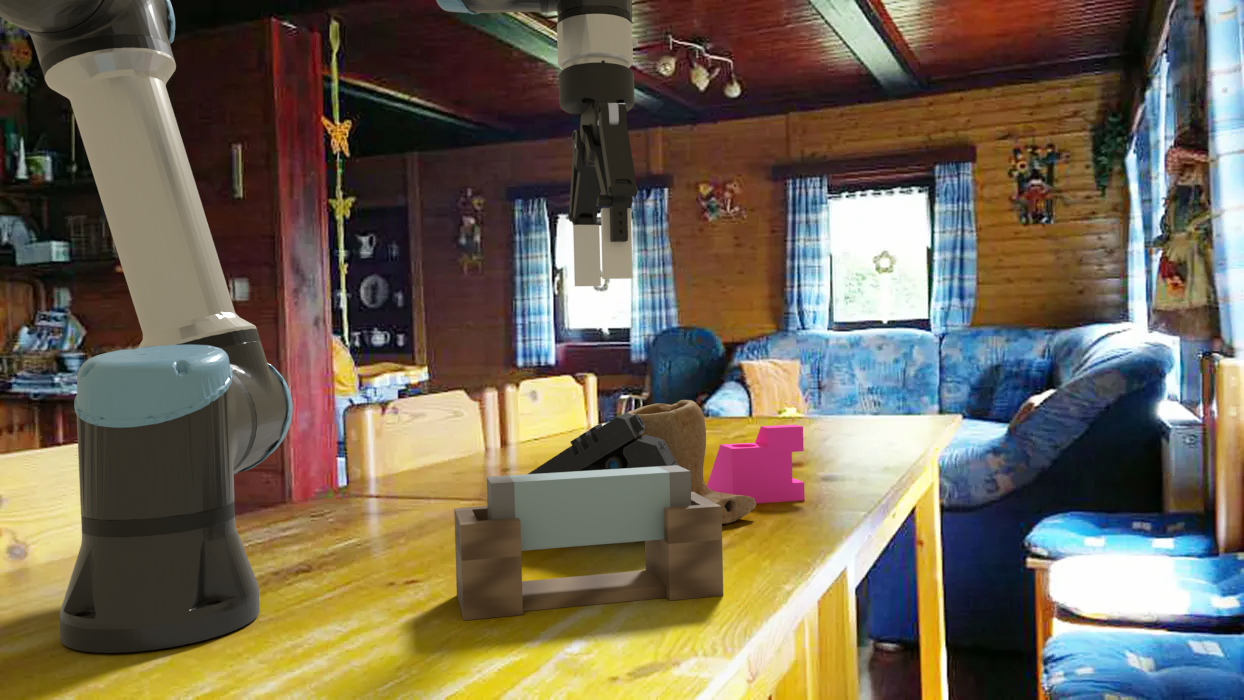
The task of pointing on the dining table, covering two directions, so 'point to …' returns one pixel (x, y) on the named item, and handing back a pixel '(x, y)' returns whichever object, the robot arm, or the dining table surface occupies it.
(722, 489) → the bracket
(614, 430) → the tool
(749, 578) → the dining table surface
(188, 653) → the dining table surface
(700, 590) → the posts
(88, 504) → the robot arm
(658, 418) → the brown boot
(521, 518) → the rail
